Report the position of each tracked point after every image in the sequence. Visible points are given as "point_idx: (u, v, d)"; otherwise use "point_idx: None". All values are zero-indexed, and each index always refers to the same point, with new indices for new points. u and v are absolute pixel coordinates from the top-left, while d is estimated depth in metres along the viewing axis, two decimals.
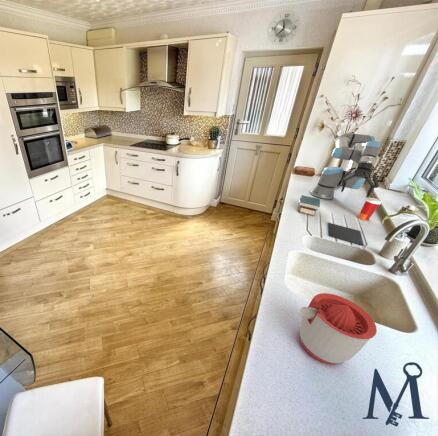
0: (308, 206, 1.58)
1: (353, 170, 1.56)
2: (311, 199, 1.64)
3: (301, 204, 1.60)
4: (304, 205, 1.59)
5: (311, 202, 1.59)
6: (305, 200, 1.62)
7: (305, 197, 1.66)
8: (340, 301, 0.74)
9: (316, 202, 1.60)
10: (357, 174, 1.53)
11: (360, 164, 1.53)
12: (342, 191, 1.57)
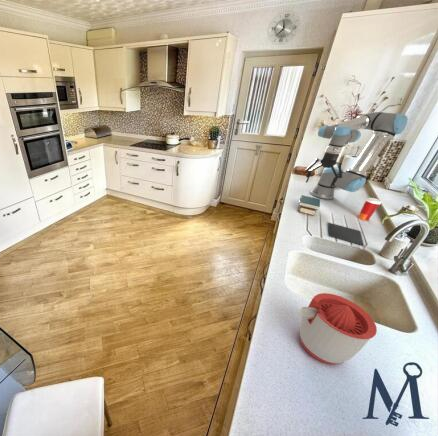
0: (308, 206, 1.58)
1: (319, 160, 1.50)
2: (311, 199, 1.64)
3: (301, 204, 1.60)
4: (304, 205, 1.59)
5: (311, 202, 1.59)
6: (305, 200, 1.62)
7: (305, 197, 1.66)
8: (340, 301, 0.74)
9: (316, 202, 1.60)
10: (322, 165, 1.49)
11: (325, 155, 1.46)
12: None
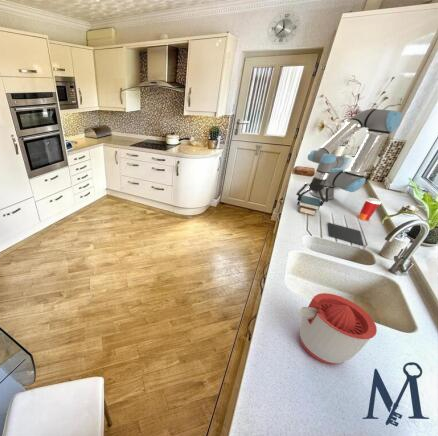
0: (308, 206, 1.58)
1: (308, 184, 1.59)
2: (311, 199, 1.64)
3: (301, 204, 1.60)
4: (304, 205, 1.59)
5: (311, 202, 1.59)
6: (305, 200, 1.62)
7: (305, 197, 1.66)
8: (340, 301, 0.74)
9: (316, 202, 1.60)
10: None
11: (313, 180, 1.54)
12: (298, 204, 1.68)
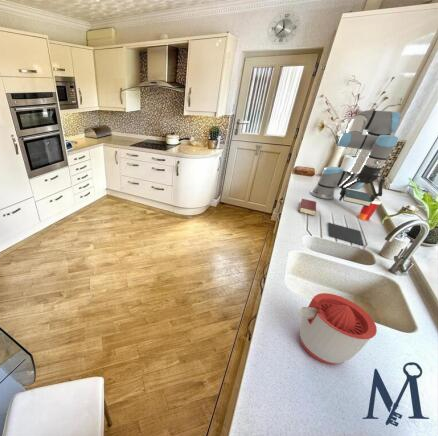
0: (356, 202, 1.27)
1: (355, 175, 1.28)
2: (358, 193, 1.33)
3: (347, 199, 1.29)
4: (351, 200, 1.28)
5: (360, 197, 1.28)
6: (351, 194, 1.31)
7: (350, 191, 1.35)
8: (340, 301, 0.74)
9: (365, 196, 1.29)
10: (359, 181, 1.27)
11: (364, 169, 1.23)
12: None
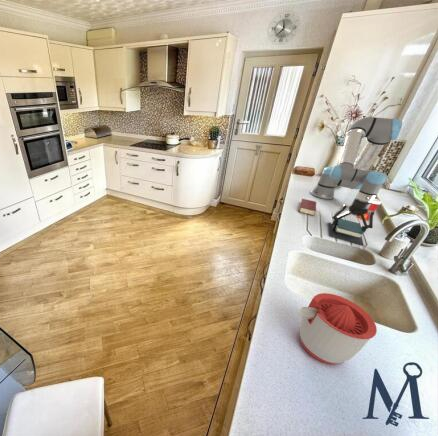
0: (348, 233, 1.32)
1: (347, 207, 1.33)
2: (350, 223, 1.38)
3: (339, 230, 1.34)
4: (343, 231, 1.33)
5: (352, 228, 1.33)
6: (343, 225, 1.36)
7: (342, 221, 1.40)
8: (340, 301, 0.74)
9: (356, 228, 1.34)
10: (351, 213, 1.32)
11: (355, 202, 1.29)
12: (333, 229, 1.42)
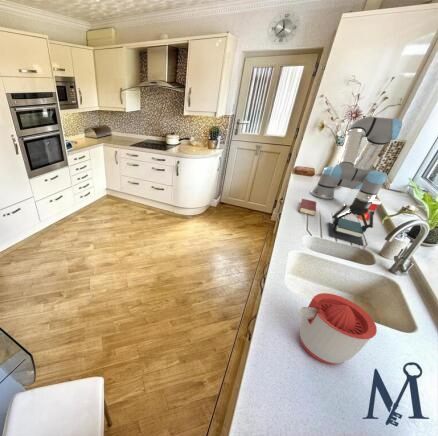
0: (348, 232, 1.32)
1: (347, 206, 1.33)
2: (350, 223, 1.38)
3: (339, 230, 1.34)
4: (343, 231, 1.33)
5: (352, 228, 1.33)
6: (343, 225, 1.36)
7: (342, 220, 1.40)
8: (340, 301, 0.74)
9: (357, 227, 1.34)
10: None
11: (356, 202, 1.28)
12: (333, 229, 1.42)
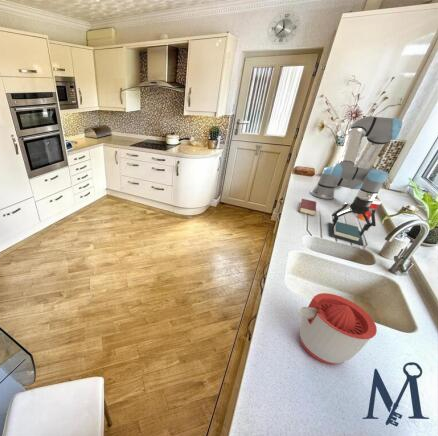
0: (346, 236, 1.34)
1: (348, 205, 1.32)
2: (348, 227, 1.39)
3: (337, 234, 1.36)
4: (341, 235, 1.35)
5: (350, 232, 1.35)
6: (341, 228, 1.37)
7: (340, 224, 1.42)
8: (340, 301, 0.74)
9: (354, 231, 1.35)
10: (351, 211, 1.32)
11: (356, 201, 1.28)
12: None
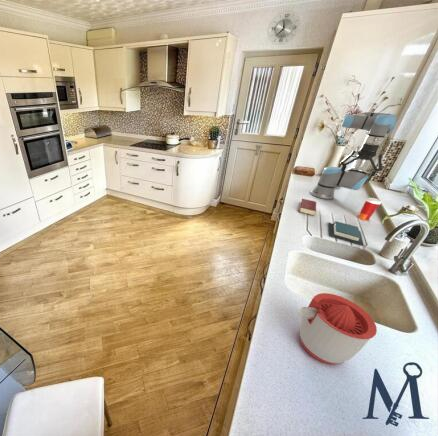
0: (346, 236, 1.34)
1: (356, 152, 1.40)
2: (348, 227, 1.39)
3: (337, 234, 1.36)
4: (341, 235, 1.35)
5: (350, 232, 1.35)
6: (341, 228, 1.37)
7: (340, 224, 1.42)
8: (340, 301, 0.74)
9: (354, 231, 1.35)
10: (359, 158, 1.39)
11: (364, 146, 1.36)
12: (341, 176, 1.49)
